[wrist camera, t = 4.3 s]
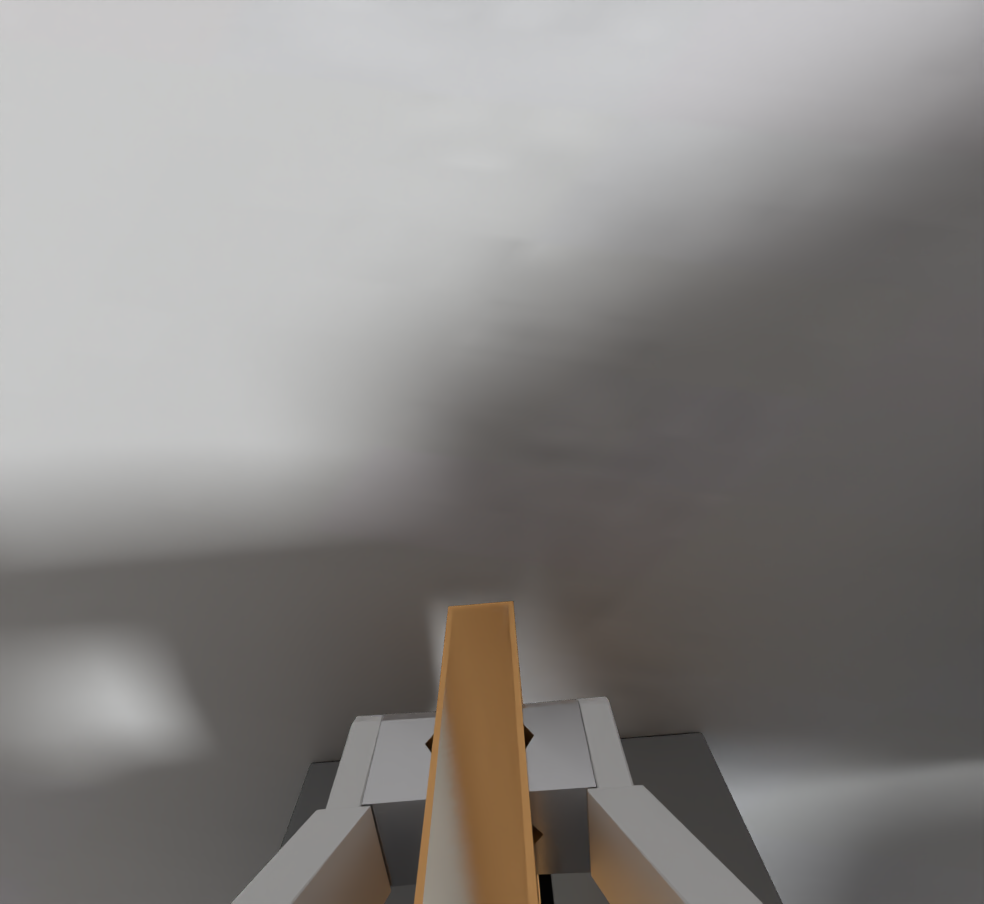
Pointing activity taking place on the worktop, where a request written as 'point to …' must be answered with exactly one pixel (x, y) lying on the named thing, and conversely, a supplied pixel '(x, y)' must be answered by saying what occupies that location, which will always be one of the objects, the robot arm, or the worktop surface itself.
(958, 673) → the worktop surface
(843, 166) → the worktop surface
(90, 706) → the worktop surface
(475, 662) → the ticket strip
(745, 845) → the dispenser
